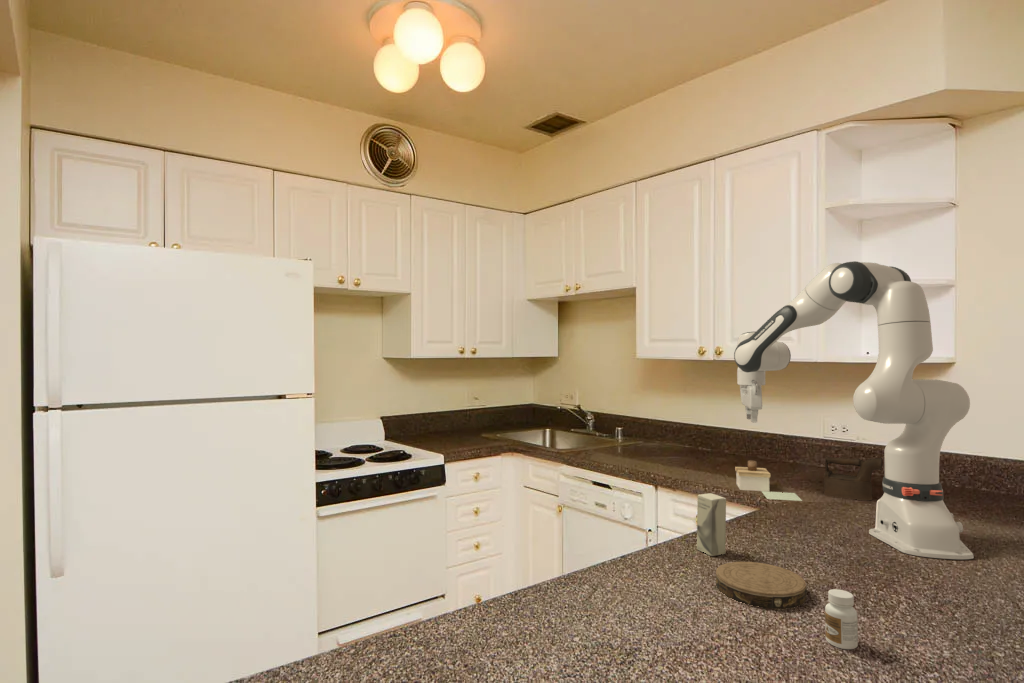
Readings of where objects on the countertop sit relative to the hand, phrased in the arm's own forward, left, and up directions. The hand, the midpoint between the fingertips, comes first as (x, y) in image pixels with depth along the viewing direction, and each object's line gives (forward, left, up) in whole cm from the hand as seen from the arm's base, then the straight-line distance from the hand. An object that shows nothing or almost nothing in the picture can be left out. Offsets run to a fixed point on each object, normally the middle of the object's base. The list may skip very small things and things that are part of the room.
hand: (751, 420), depth 191 cm
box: (-68, +19, -23) cm, 74 cm away
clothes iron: (-5, -28, -23) cm, 37 cm away
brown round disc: (-88, +12, -23) cm, 92 cm away
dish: (0, 0, -23) cm, 23 cm away
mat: (-10, -7, -23) cm, 26 cm away
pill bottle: (-106, +3, -23) cm, 108 cm away
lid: (0, 0, -18) cm, 18 cm away
